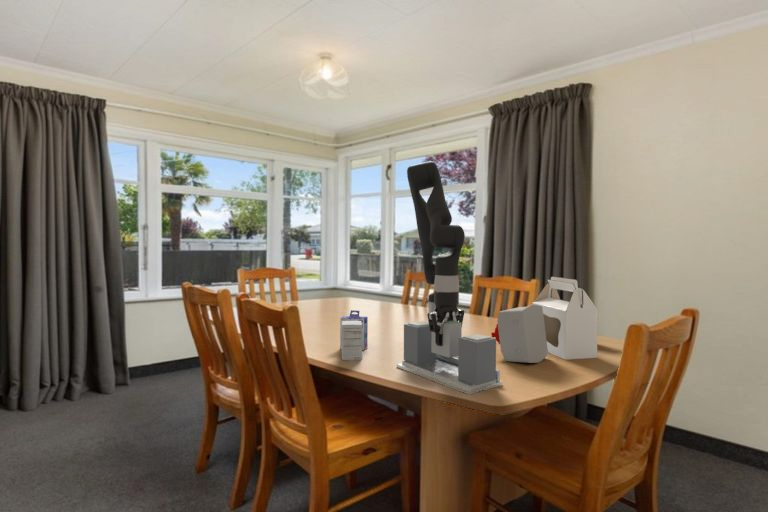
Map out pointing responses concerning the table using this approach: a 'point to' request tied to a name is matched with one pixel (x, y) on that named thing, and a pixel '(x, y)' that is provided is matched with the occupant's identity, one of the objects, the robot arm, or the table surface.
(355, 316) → the ink cartridge box
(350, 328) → the supplement box
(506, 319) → the electrical switch box
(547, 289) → the gable box
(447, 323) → the block
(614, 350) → the table surface
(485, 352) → the block
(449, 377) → the rail base
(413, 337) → the block
